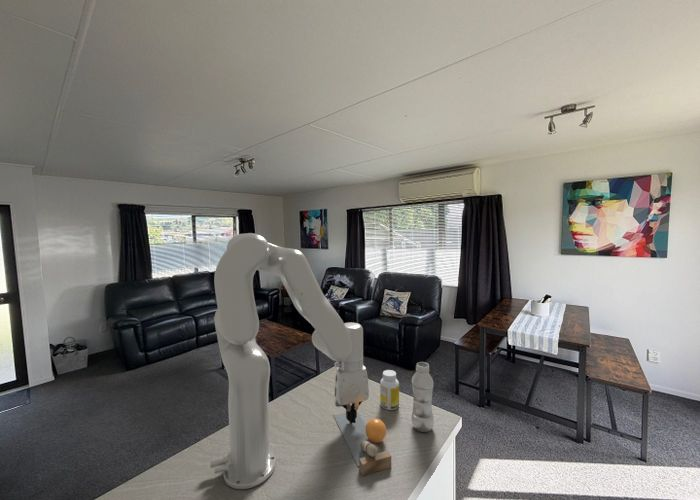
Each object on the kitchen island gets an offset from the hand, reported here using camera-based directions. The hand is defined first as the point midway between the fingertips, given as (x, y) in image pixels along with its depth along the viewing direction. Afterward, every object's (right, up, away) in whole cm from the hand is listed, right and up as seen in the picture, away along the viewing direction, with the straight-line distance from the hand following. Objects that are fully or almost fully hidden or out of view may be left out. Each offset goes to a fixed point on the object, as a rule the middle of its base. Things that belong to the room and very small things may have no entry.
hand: (351, 420), depth 89 cm
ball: (+7, +1, -7) cm, 10 cm away
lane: (+2, -2, -5) cm, 5 cm away
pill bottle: (+13, -1, +10) cm, 17 cm away
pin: (+3, -1, -10) cm, 11 cm away
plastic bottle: (+22, -2, -2) cm, 22 cm away
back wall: (+6, -2, -17) cm, 18 cm away
